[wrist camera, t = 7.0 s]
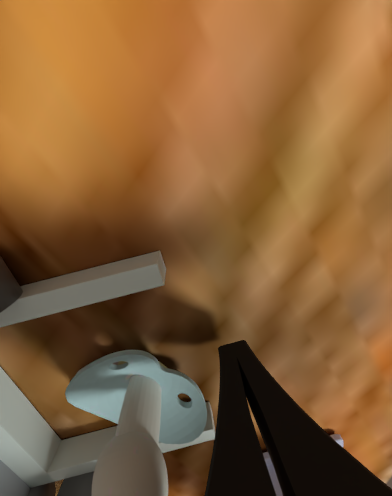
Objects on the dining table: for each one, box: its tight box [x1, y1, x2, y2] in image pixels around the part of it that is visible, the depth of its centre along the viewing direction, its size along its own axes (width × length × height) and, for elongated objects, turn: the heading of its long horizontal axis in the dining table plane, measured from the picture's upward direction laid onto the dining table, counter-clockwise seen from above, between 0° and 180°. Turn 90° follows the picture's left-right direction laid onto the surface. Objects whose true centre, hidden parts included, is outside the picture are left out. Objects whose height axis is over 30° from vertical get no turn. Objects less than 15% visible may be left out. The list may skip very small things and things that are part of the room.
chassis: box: [0, 251, 215, 496], centre depth 9 cm, size 16×15×4 cm
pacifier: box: [65, 350, 207, 496], centre depth 9 cm, size 7×6×6 cm
